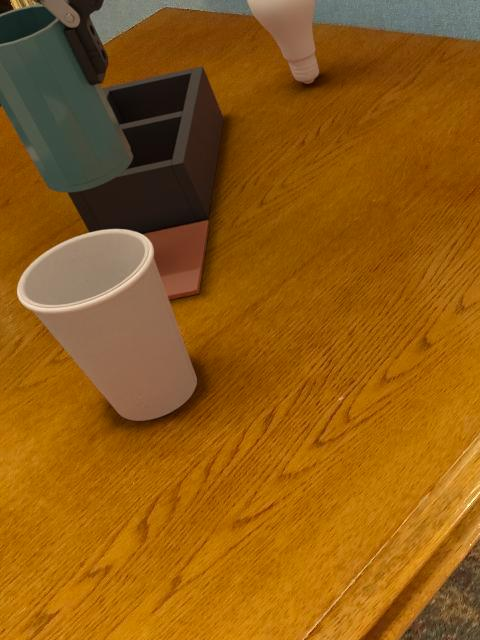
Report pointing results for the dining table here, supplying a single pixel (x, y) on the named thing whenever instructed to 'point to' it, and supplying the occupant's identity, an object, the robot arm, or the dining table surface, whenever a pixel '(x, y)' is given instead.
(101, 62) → the robot arm
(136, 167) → the divided storage box
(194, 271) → the coaster
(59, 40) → the cup
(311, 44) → the lightbulb
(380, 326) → the dining table surface
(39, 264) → the dixie cup
